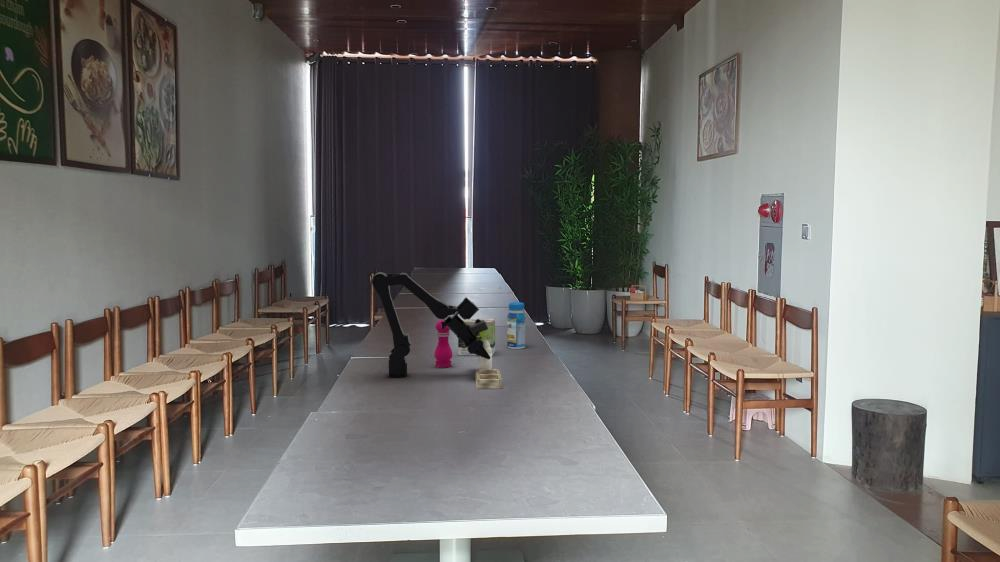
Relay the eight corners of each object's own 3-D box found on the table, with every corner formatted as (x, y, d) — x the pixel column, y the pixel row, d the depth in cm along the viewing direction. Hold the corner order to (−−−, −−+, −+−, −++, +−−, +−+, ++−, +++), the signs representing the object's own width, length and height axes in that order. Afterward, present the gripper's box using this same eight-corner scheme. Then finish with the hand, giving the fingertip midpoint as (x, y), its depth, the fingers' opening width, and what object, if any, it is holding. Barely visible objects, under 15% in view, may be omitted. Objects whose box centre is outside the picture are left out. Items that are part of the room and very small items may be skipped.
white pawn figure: (479, 375, 281) (479, 341, 280) (478, 372, 286) (479, 339, 285) (492, 375, 282) (492, 341, 280) (491, 372, 287) (491, 339, 285)
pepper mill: (453, 364, 301) (453, 314, 299) (450, 368, 294) (450, 317, 292) (436, 363, 302) (436, 314, 300) (432, 367, 295) (432, 317, 292)
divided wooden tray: (476, 388, 262) (476, 380, 262) (475, 377, 279) (475, 369, 279) (502, 388, 263) (502, 380, 263) (499, 376, 280) (499, 369, 280)
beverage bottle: (525, 349, 331) (526, 304, 329) (506, 349, 332) (506, 304, 329) (525, 345, 340) (525, 301, 338) (506, 345, 340) (507, 301, 338)
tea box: (495, 351, 326) (495, 318, 324) (492, 356, 316) (493, 322, 314) (461, 350, 327) (461, 317, 326) (457, 355, 317) (457, 321, 316)
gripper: (477, 317, 272) (507, 346, 274) (473, 309, 290) (501, 337, 293) (455, 338, 272) (485, 368, 274) (453, 329, 290) (481, 357, 293)
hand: (489, 357), depth 283 cm, fingers closed on white pawn figure, 5 cm apart
